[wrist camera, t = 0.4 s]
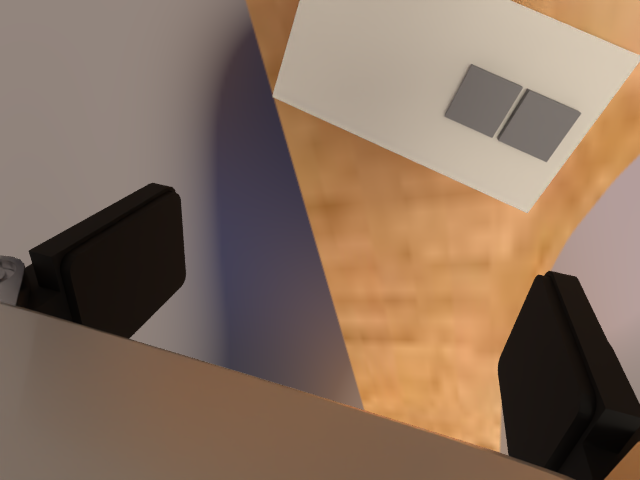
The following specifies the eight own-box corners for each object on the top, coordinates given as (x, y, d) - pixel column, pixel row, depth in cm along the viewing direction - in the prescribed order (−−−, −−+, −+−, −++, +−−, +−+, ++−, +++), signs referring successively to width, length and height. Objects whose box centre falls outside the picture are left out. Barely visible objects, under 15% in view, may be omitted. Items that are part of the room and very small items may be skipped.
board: (329, -75, 31) (322, -80, 29) (632, 54, 30) (643, 56, 28) (280, 93, 38) (272, 96, 36) (524, 204, 37) (527, 213, 35)
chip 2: (527, 88, 31) (529, 90, 30) (577, 110, 31) (581, 113, 30) (497, 137, 33) (498, 140, 32) (544, 158, 33) (546, 162, 32)
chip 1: (471, 63, 31) (471, 65, 30) (521, 85, 31) (523, 87, 30) (444, 114, 33) (444, 116, 32) (491, 134, 33) (492, 138, 32)
